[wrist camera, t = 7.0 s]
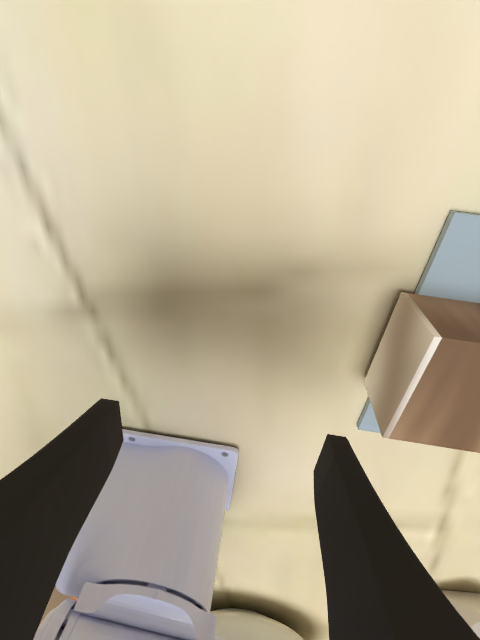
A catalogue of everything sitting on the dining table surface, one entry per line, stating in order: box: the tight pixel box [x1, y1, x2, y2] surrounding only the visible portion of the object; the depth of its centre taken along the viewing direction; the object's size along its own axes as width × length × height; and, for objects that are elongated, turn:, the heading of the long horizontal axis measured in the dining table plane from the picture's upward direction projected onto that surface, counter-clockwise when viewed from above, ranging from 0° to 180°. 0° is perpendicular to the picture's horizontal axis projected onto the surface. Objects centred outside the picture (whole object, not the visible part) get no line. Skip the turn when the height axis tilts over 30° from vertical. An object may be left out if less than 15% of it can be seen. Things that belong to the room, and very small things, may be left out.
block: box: [364, 292, 480, 453], centre depth 16 cm, size 4×6×8 cm
